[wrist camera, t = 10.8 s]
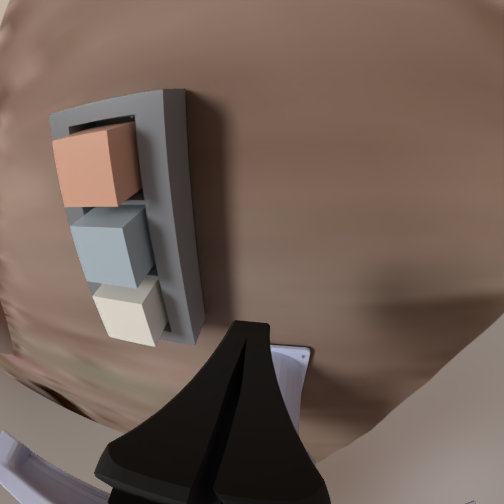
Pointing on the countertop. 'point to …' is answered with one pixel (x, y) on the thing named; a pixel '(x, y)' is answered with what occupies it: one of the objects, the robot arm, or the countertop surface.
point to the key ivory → (133, 311)
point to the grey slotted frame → (155, 195)
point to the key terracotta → (98, 165)
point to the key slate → (114, 245)
